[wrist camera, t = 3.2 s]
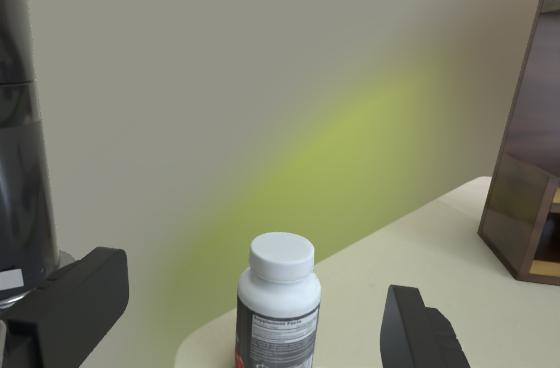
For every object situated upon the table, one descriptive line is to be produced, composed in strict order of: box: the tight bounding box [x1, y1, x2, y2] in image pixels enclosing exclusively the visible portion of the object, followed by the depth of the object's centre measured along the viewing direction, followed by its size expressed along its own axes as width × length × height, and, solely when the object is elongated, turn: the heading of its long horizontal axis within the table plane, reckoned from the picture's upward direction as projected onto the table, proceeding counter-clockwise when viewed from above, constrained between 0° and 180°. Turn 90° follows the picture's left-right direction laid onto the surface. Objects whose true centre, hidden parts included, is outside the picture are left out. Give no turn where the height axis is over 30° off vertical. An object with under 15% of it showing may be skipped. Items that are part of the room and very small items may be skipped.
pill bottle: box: [235, 232, 321, 368], centre depth 25 cm, size 5×5×10 cm
